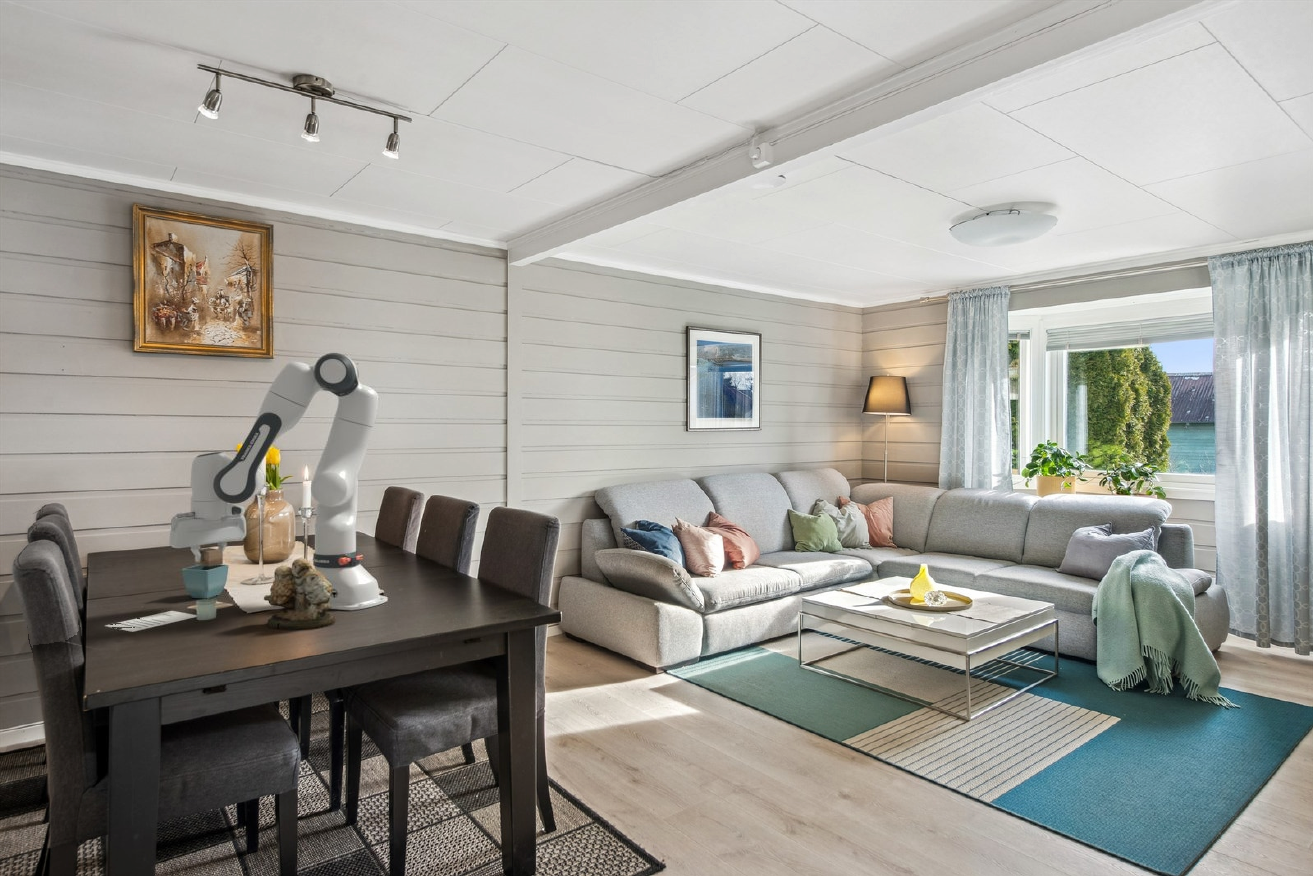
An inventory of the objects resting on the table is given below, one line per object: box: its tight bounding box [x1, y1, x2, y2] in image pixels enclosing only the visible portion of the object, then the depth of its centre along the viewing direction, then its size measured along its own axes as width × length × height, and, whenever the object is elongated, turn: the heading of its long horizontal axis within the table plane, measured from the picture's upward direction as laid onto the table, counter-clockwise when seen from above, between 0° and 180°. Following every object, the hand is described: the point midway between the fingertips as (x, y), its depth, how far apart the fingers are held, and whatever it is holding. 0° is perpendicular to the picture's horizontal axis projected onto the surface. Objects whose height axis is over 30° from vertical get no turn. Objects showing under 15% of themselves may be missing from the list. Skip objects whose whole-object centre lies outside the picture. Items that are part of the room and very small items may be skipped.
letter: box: [104, 610, 197, 632], centre depth 197 cm, size 12×17×1 cm
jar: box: [195, 597, 217, 621], centre depth 200 cm, size 5×5×5 cm
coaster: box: [186, 600, 234, 611], centre depth 212 cm, size 8×8×1 cm
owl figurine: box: [263, 557, 336, 631], centre depth 196 cm, size 18×12×17 cm, turn 87°
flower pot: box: [181, 564, 230, 599], centre depth 225 cm, size 9×9×9 cm
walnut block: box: [194, 547, 224, 566], centre depth 212 cm, size 6×4×4 cm, turn 64°
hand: (209, 559), depth 212 cm, fingers closed on walnut block, 4 cm apart
